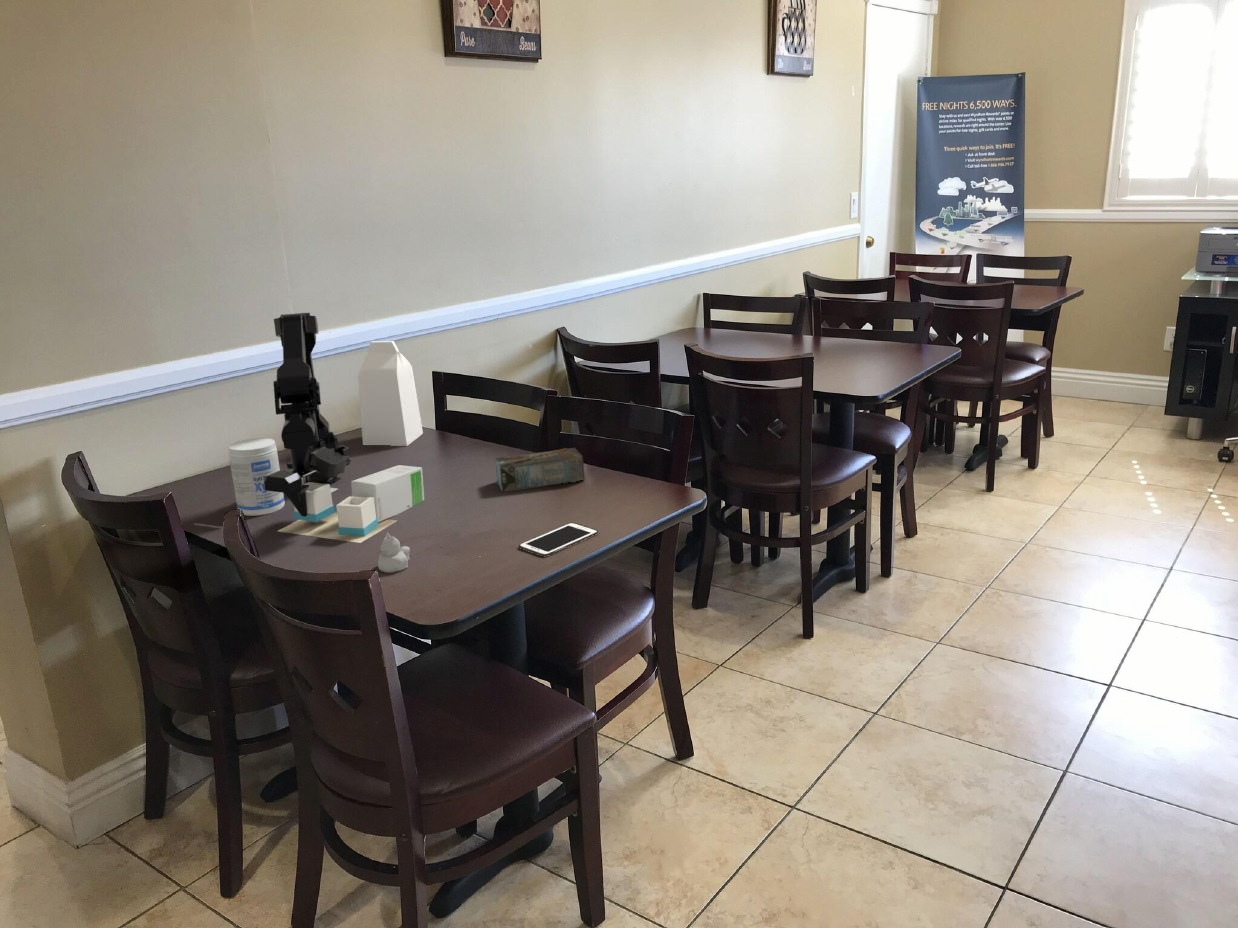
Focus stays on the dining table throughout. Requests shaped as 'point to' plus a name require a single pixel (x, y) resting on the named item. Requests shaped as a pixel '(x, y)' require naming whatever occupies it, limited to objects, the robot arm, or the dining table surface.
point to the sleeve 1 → (317, 502)
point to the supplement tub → (254, 475)
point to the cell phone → (558, 539)
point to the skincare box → (391, 489)
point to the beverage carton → (539, 469)
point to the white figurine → (393, 555)
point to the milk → (388, 397)
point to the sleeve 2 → (356, 516)
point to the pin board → (330, 529)
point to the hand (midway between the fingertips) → (313, 511)
